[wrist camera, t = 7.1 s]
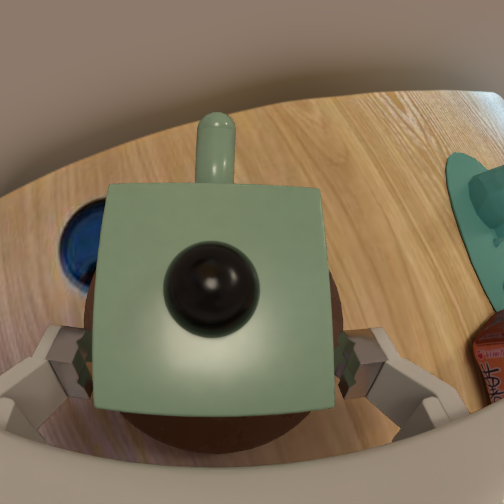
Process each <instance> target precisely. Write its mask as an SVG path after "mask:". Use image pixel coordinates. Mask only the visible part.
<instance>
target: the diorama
mask: <svg viewBox="0 0 504 504" xmlns="http://www.w3.org/2000/svg"><path fill="white" fill-rule="evenodd" d="M445 170H446V181H447V189H448V193H449V197H450V201H451V205H452V210H453V212H454V215H455V218H456V221H457V225H458V228H459V231H460V234H461V237H462V239H463V242H464V244H465V247H466V249H467V252H468V255H469V257H470V260H471V263H472V265H473V267H474V269H475V271H476V274H477V276H478V278H479V280H480V283H481V285H482V287H483V289H484V291H485V293H486V295H487V297H488V298H489V300H490V302H491V304H492V306H493V308H494V310H495V311H496V312H499V311H500V310H503V309H504V165H502V166H499V167H497V168H494V169H491V170H487V169H486V168H485V167H484V166H483V165H482V164H481V163H479V162H478V161H477V160H476V159H475V158H473V157H470V156H468V155H466V154H464V153H455V152H454V153H453V154H452V155H451V156H450V157H448V160H447V165H446V169H445Z"/></svg>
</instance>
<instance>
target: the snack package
mask: <svg viewBox="0 0 504 504" xmlns="http://www.w3.org/2000/svg"><path fill="white" fill-rule="evenodd" d="M473 351H474V356H475V358H476V360H477V362H478V364H479V367H480V369H481V371H482V374H483V376H484V380H485V383H486V386H487V390H488V393H489V396H490V400H491V404H492V403H494V402H496V401H498V400H500V399H502V398H504V309H503V310H500V311H499V312H497V313H496V314H495V315H493V316H492V317H491V318H490V319H489V321H488V322H487V323H486V325H485V326H484V327H483V328H482V329H481V331H480V332H479V333H478V334H477V336H476V337H475V339H474V342H473Z"/></svg>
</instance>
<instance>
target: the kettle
mask: <svg viewBox="0 0 504 504" xmlns="http://www.w3.org/2000/svg"><path fill="white" fill-rule="evenodd" d="M235 140H236V127H235V123H234V121H233V120H232V119H231V117H229V116H228V115H227V114H225V113H221V112H213V113H209V114H208V115H206V116H204V117H203V118H202V119H201V121H200V122H199V124H198V128H197V142H196V164H195V183H121V184H110V185H109V187H108V192H107V198H106V203H105V209H104V215H103V221H102V228H101V235H100V242H99V250H98V259H97V268H96V271H95V274H94V276H93V279H92V281H91V284H90V287H89V291H88V295H87V299H86V305H85V314H84V329H89V330H91V331H92V373H93V398H94V406H95V407H96V408H98V409H104V410H111V411H119V412H120V413H121V414H122V415H123V416H124V417H125V418H126V419H127V420H128V421H129V422H130V423H131V424H133V425H134V426H135V427H137V428H138V429H140V430H141V431H142V432H144V433H145V434H147V435H149V436H150V437H152V438H154V439H156V440H158V441H160V442H162V443H164V444H167V445H170V446H173V447H176V448H179V449H182V450H187V451H192V452H197V453H211V454H221V453H234V452H239V451H244V450H248V449H252V448H255V447H258V446H261V445H263V444H266V443H268V442H270V441H272V440H274V439H276V438H278V437H280V436H282V435H284V434H285V433H286V432H288V431H289V430H291V429H292V428H293V427H295V426H296V425H298V424H299V423H300V422H301V421H302V420H303V419H304V418H305V417H306V416H307V415H308V414H309V413H310V412H311V411H317V410H325V409H331V408H333V407H334V405H335V385H334V349H335V348H336V347H337V346H338V345H339V343H338V341H337V338H338V335H339V333H340V332H341V331H343V316H342V308H341V302H340V298H339V294H338V291H337V287H336V285H335V282H334V280H333V277H332V275H331V272H330V271H329V268H328V257H327V246H326V236H325V227H324V218H323V210H322V201H321V194H320V189H318V188H309V187H294V186H277V185H256V184H234V163H235Z"/></svg>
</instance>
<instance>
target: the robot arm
mask: <svg viewBox="0 0 504 504" xmlns="http://www.w3.org/2000/svg"><path fill="white" fill-rule="evenodd" d="M337 341H338V343H339V345H338V346H337V347H336V348H335V349H334V375H335V376H337V377H338V378H339V379H341V380H340V382H339V384H338V386H339V388H340V391H341V393H342V396H343V399H344V400H346V399H354V398H361V397H366V398H367V399H368V400H369V401H370V402H371V403H372V404H374V405H375V406H376V407H377V408H378V409H379V410H380V411H381V412H383V413H384V414H385V415H386V416H387V417H388V418H389V419H391V420H392V421H393V422H394V423H395V424H396V425H397V426H399V427H400V428H401V429H400V430H399V432H398V433H397V434H396V435H395V437H394V438H393V440H392V443H388V444H385V445H381V446H377V447H373V448H369V449H365V450H361V451H357V452H352V453H347V454H342V455H337V456H332V457H326V458H321V459H314V460H308V461H300V462H293V463H284V464H274V465H262V466H245V467H183V466H167V465H155V464H145V463H136V462H128V461H121V460H115V459H109V458H103V457H98V456H93V455H88V454H83V453H78V452H74V451H70V450H66V449H62V448H58V447H54V446H51V445H47V444H46V441H45V439H44V438H43V437H42V436H41V434H40V433H39V432H38V431H37V429H38V428H39V427H40V426H41V425H42V424H43V423H44V422H45V421H46V420H47V419H48V418H49V417H50V416H51V415H52V414H53V413H54V412H55V411H56V410H57V409H58V408H59V407H60V406H61V405H62V404H63V403H64V402H65V401H66V400H67V399H68V397H73V398H80V399H87V400H90V397H91V394H92V391H93V380H92V378H93V373H92V331H91V330H89V329H84V328H76V327H68V326H59V325H53V324H52V325H50V326H48V328H47V330H46V331H45V333H44V335H43V337H42V339H41V341H40V342H39V344H38V346H37V348H36V350H35V352H34V354H33V356H32V357H27V358H25V359H24V360H22V361H21V362H19V363H18V364H17V365H15V366H14V367H12V368H11V369H9V370H8V371H6V372H5V373H3V374H2V375H0V504H504V398H502V399H500V400H498V401H496V402H494V403H492V404H490V405H488V406H486V407H484V408H482V409H480V410H478V411H476V412H474V413H471V414H470V412H469V411H468V409H467V407H466V406H465V404H464V402H463V401H462V399H461V397H460V396H459V394H458V392H457V391H456V389H455V388H454V387H452V386H450V385H449V384H447V383H445V382H444V381H442V380H440V379H439V378H437V377H435V376H434V375H432V374H430V373H429V372H427V371H426V370H424V369H422V368H421V367H419V366H417V365H416V364H414V363H412V362H411V361H409V360H407V359H406V358H403V359H402V358H401V357H400V355H399V353H398V352H397V350H396V348H395V347H394V345H393V343H392V342H391V340H390V338H389V337H388V335H387V334H386V332H385V330H384V329H383V328H382V327H376V328H368V329H358V330H347V331H341V332H340V333H339V335H338V338H337Z"/></svg>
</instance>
